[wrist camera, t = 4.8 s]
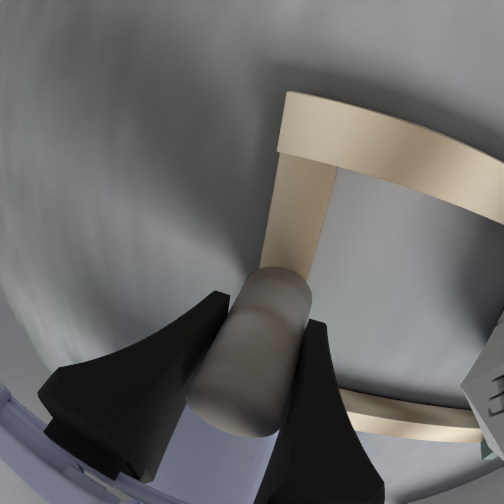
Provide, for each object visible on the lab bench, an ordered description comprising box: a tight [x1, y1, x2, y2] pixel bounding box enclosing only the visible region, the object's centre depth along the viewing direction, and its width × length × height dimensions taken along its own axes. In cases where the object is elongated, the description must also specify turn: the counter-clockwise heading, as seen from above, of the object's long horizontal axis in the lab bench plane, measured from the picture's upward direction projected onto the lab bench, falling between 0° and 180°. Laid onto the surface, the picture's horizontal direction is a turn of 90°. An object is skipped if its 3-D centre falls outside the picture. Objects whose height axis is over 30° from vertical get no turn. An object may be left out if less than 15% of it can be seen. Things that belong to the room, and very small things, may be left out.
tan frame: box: [185, 91, 504, 460], centre depth 10 cm, size 20×16×7 cm
